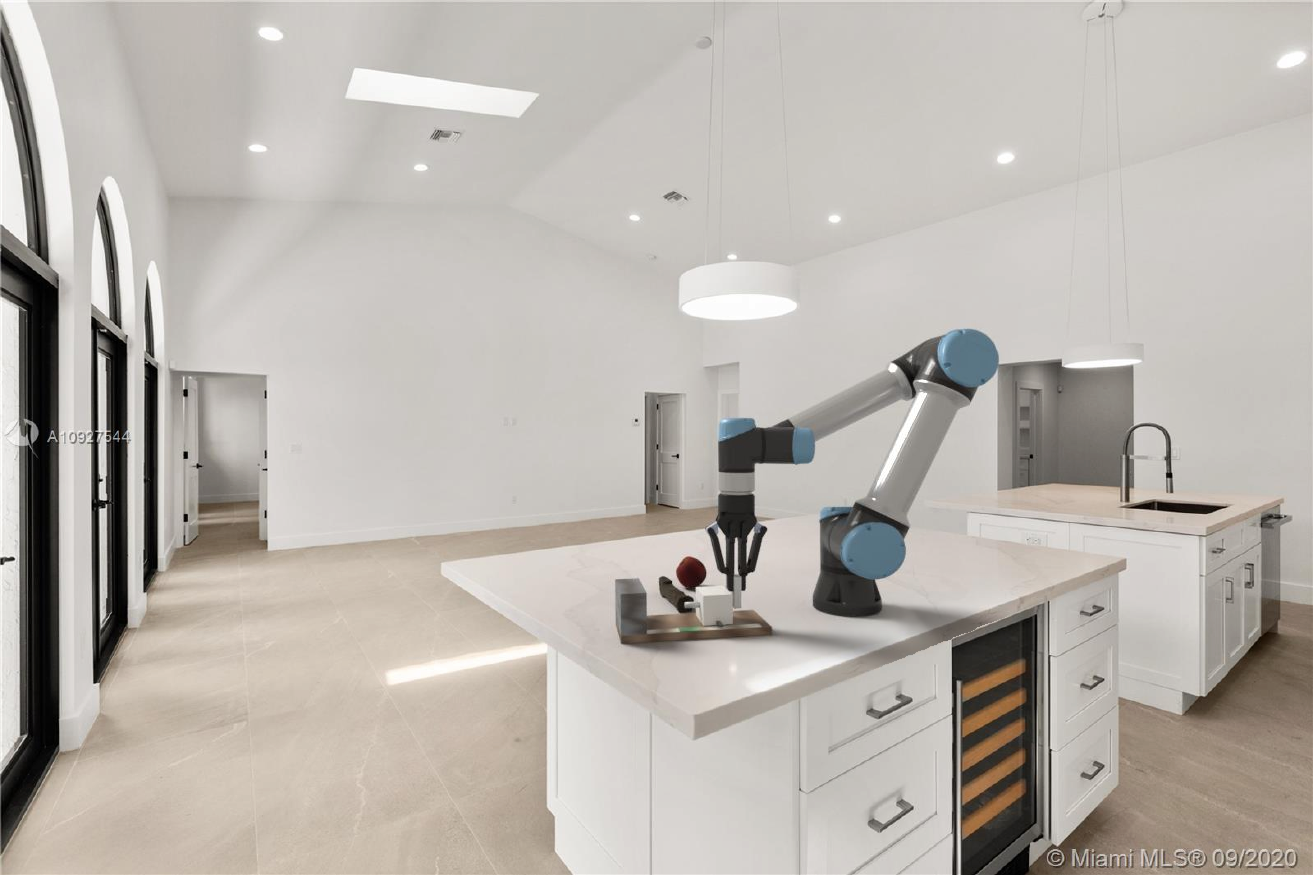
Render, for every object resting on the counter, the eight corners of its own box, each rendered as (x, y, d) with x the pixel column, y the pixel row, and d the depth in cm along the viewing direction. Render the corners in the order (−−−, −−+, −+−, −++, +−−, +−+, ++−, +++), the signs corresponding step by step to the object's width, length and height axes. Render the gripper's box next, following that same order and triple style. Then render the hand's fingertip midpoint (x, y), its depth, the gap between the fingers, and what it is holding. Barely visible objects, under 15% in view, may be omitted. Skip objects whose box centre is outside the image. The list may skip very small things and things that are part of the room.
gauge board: (753, 616, 136) (753, 573, 136) (771, 634, 124) (771, 586, 124) (615, 624, 132) (615, 579, 131) (621, 643, 120) (620, 594, 120)
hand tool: (694, 613, 140) (694, 592, 140) (677, 614, 139) (677, 593, 139) (671, 592, 158) (671, 574, 158) (655, 593, 157) (655, 574, 157)
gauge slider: (723, 614, 132) (723, 585, 132) (736, 628, 123) (736, 597, 123) (681, 616, 131) (681, 587, 131) (691, 630, 122) (691, 600, 122)
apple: (678, 583, 166) (677, 553, 166) (707, 584, 165) (707, 554, 165) (675, 590, 158) (674, 559, 158) (705, 591, 157) (705, 560, 157)
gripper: (761, 490, 134) (760, 600, 134) (701, 491, 132) (701, 602, 132) (772, 494, 126) (772, 610, 127) (709, 494, 124) (709, 613, 125)
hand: (736, 606), depth 129 cm, fingers closed
